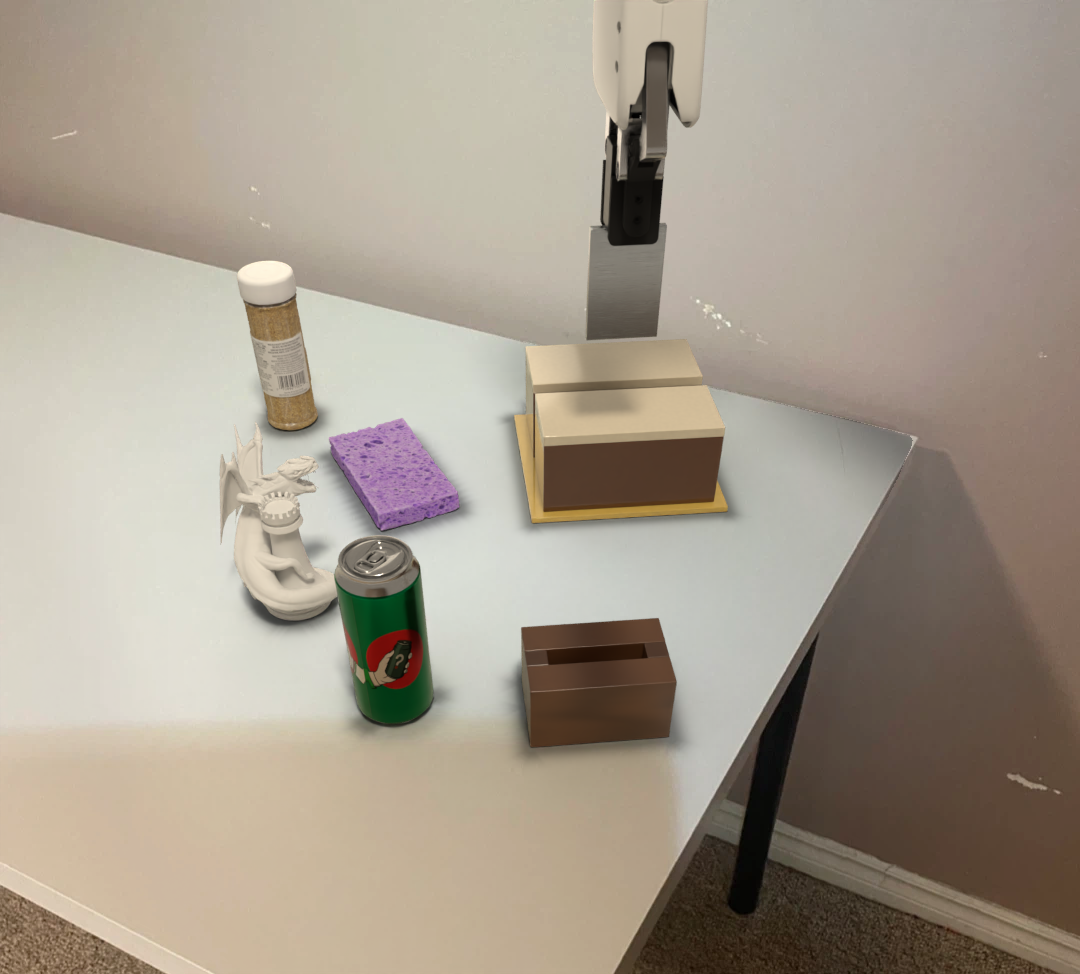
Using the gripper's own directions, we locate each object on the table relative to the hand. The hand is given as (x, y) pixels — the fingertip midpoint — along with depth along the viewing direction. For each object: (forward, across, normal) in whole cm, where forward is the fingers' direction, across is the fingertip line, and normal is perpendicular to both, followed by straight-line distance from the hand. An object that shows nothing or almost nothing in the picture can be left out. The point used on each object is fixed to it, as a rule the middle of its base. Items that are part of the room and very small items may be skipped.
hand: (628, 232), depth 66 cm
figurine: (+22, -6, +25) cm, 34 cm away
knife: (+7, 0, 0) cm, 7 cm away
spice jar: (+23, +18, +26) cm, 39 cm away
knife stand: (+22, -21, +5) cm, 31 cm away
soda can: (+22, -19, +18) cm, 34 cm away
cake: (+22, +8, -2) cm, 24 cm away
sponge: (+22, +7, +17) cm, 29 cm away
